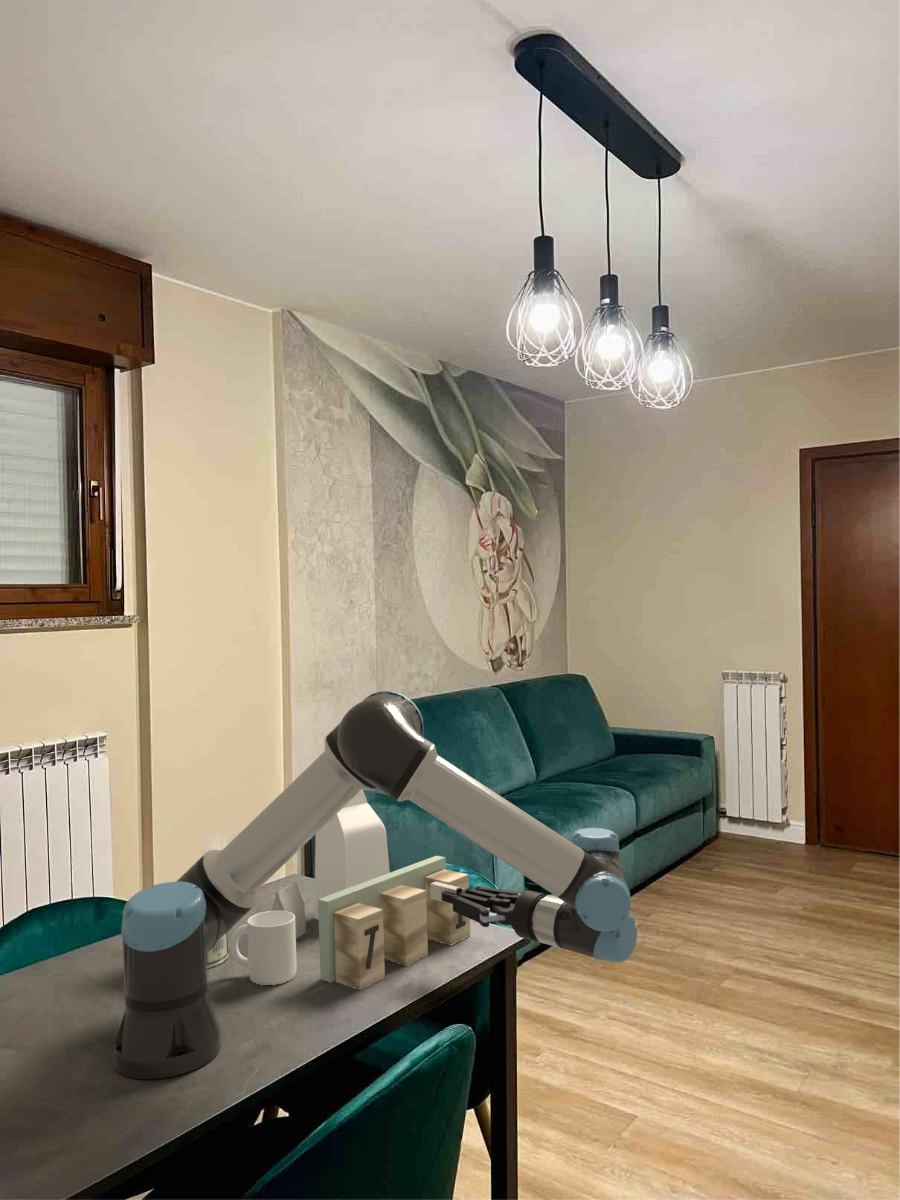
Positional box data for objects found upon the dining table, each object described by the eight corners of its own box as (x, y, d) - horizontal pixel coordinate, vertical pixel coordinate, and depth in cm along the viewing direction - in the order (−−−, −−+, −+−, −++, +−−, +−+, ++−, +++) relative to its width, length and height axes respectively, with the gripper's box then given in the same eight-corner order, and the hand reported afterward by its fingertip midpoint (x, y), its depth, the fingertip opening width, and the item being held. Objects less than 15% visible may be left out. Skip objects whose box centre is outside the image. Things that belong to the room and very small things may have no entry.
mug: (221, 984, 157) (219, 924, 157) (242, 965, 165) (240, 908, 165) (285, 988, 155) (283, 927, 155) (303, 968, 163) (302, 911, 163)
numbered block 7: (386, 978, 157) (383, 909, 157) (361, 990, 153) (359, 919, 153) (360, 970, 161) (358, 902, 161) (335, 981, 157) (333, 912, 157)
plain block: (428, 955, 167) (426, 890, 167) (406, 966, 162) (404, 899, 162) (403, 948, 171) (401, 884, 171) (382, 958, 166) (379, 893, 166)
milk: (346, 931, 180) (342, 801, 180) (314, 918, 189) (310, 793, 189) (393, 916, 188) (389, 791, 188) (360, 903, 197) (356, 784, 197)
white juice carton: (305, 932, 181) (303, 882, 181) (287, 945, 174) (285, 893, 174) (289, 930, 182) (287, 881, 182) (271, 943, 176) (269, 891, 176)
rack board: (447, 927, 181) (445, 857, 181) (330, 982, 156) (327, 901, 156) (438, 925, 182) (436, 855, 182) (320, 979, 158) (318, 899, 158)
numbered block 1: (471, 936, 176) (469, 874, 176) (451, 946, 171) (449, 882, 171) (446, 929, 180) (444, 869, 180) (426, 939, 175) (425, 877, 175)
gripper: (520, 953, 142) (409, 921, 157) (565, 929, 152) (456, 901, 167) (520, 906, 142) (408, 878, 157) (564, 885, 152) (455, 860, 167)
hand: (433, 890), depth 162 cm, fingers closed
